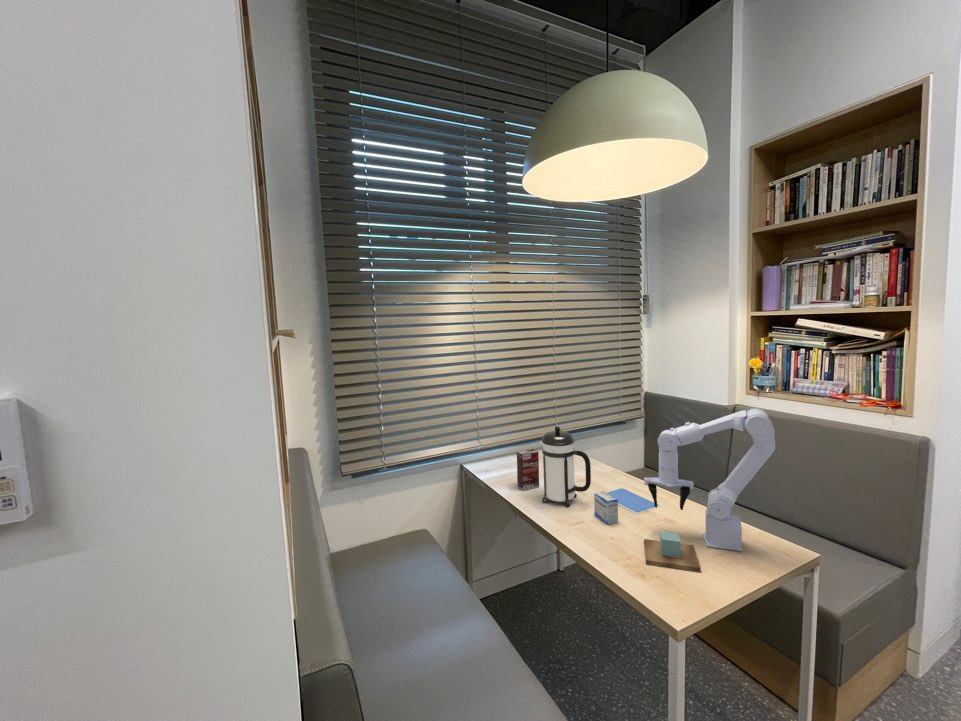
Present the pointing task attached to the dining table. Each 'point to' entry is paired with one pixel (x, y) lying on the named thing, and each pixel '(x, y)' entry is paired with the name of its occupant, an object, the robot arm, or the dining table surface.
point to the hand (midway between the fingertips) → (668, 507)
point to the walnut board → (685, 562)
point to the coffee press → (561, 467)
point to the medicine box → (606, 507)
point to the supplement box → (527, 469)
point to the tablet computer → (632, 501)
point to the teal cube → (670, 544)
